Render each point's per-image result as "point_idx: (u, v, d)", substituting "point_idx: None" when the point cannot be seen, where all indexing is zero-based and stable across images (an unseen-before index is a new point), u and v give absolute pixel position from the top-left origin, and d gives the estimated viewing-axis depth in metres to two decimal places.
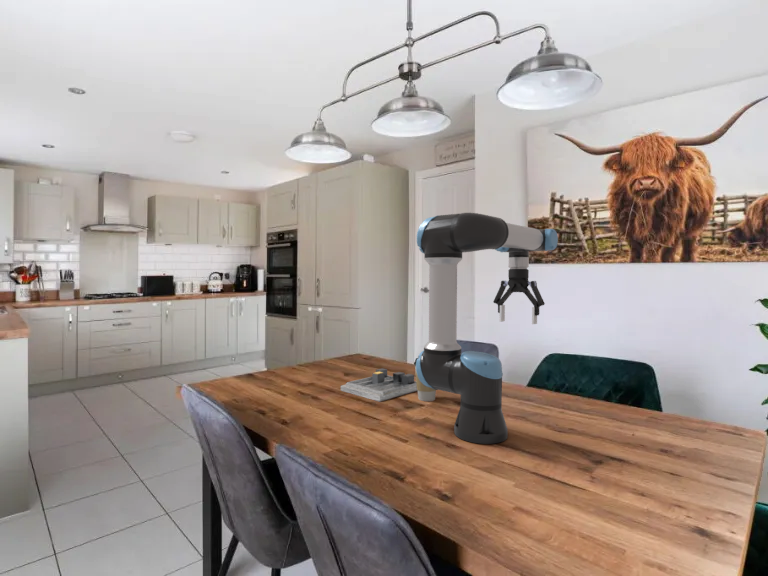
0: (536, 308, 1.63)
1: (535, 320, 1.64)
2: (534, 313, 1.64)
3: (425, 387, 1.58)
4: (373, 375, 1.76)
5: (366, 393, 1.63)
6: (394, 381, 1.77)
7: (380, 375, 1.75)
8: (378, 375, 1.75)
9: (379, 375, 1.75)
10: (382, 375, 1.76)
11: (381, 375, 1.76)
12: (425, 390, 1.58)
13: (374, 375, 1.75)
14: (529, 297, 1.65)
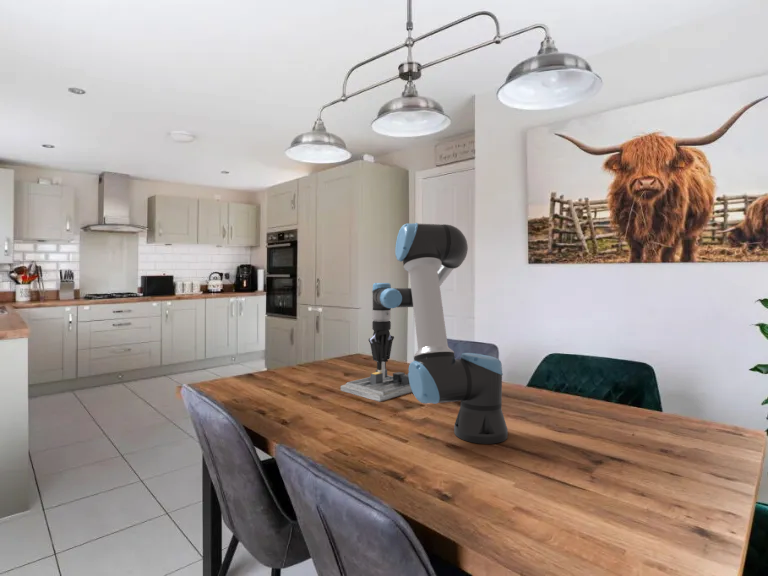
0: None
1: None
2: None
3: None
4: (371, 375, 1.75)
5: (366, 393, 1.63)
6: (394, 381, 1.77)
7: (378, 375, 1.75)
8: (376, 375, 1.74)
9: (377, 375, 1.74)
10: (380, 375, 1.75)
11: (379, 375, 1.75)
12: None
13: (372, 375, 1.75)
14: None
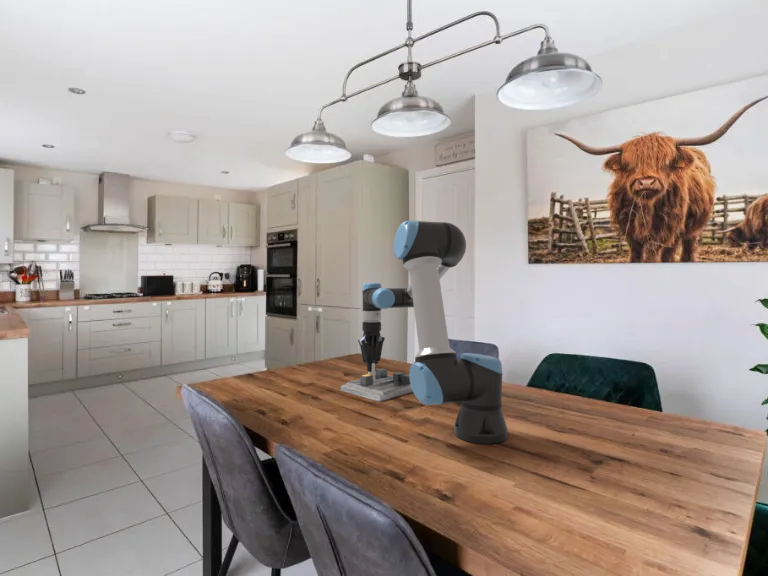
0: None
1: None
2: None
3: None
4: (361, 378, 1.71)
5: (366, 393, 1.63)
6: (394, 381, 1.77)
7: (368, 378, 1.71)
8: (366, 378, 1.70)
9: (367, 378, 1.70)
10: (370, 378, 1.71)
11: (369, 378, 1.71)
12: None
13: (362, 378, 1.71)
14: None
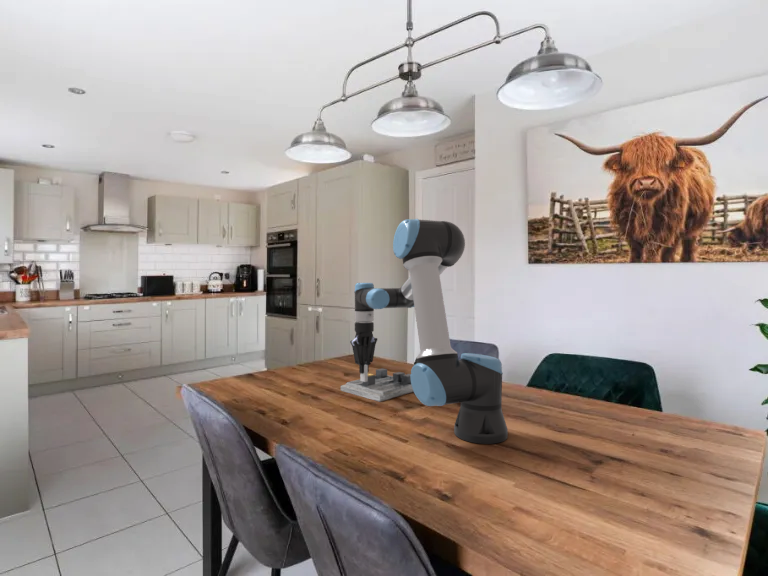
0: None
1: (362, 378, 1.70)
2: None
3: None
4: None
5: (366, 393, 1.63)
6: (394, 381, 1.77)
7: (371, 377, 1.71)
8: (368, 377, 1.71)
9: (370, 377, 1.71)
10: (373, 377, 1.72)
11: (372, 377, 1.72)
12: None
13: None
14: None
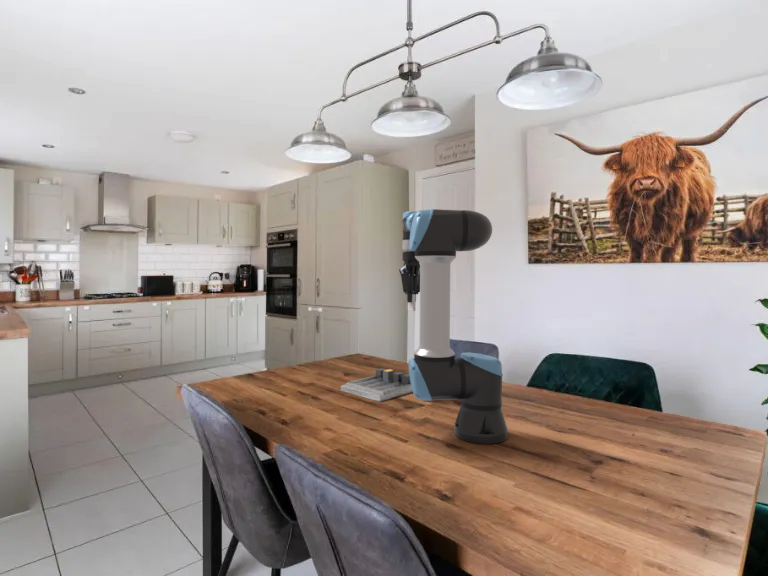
0: None
1: (410, 307, 1.71)
2: None
3: None
4: (383, 373, 1.80)
5: (366, 393, 1.63)
6: (394, 381, 1.77)
7: (390, 373, 1.80)
8: (388, 373, 1.79)
9: (389, 373, 1.79)
10: (392, 373, 1.81)
11: (391, 373, 1.80)
12: None
13: (384, 373, 1.80)
14: None
